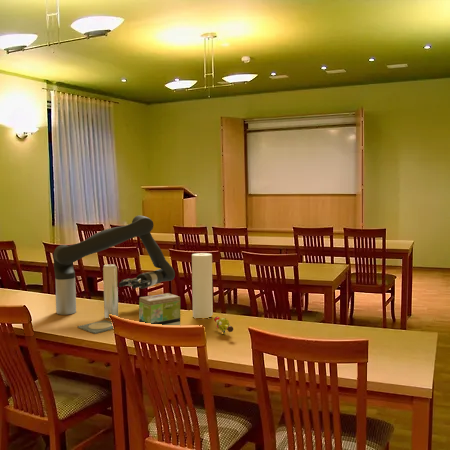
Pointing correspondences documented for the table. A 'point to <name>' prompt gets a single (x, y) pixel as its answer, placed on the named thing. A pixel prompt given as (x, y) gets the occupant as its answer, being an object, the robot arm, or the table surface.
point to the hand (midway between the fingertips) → (126, 285)
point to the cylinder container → (202, 285)
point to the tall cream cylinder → (110, 290)
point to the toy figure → (223, 324)
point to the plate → (97, 326)
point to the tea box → (160, 309)
